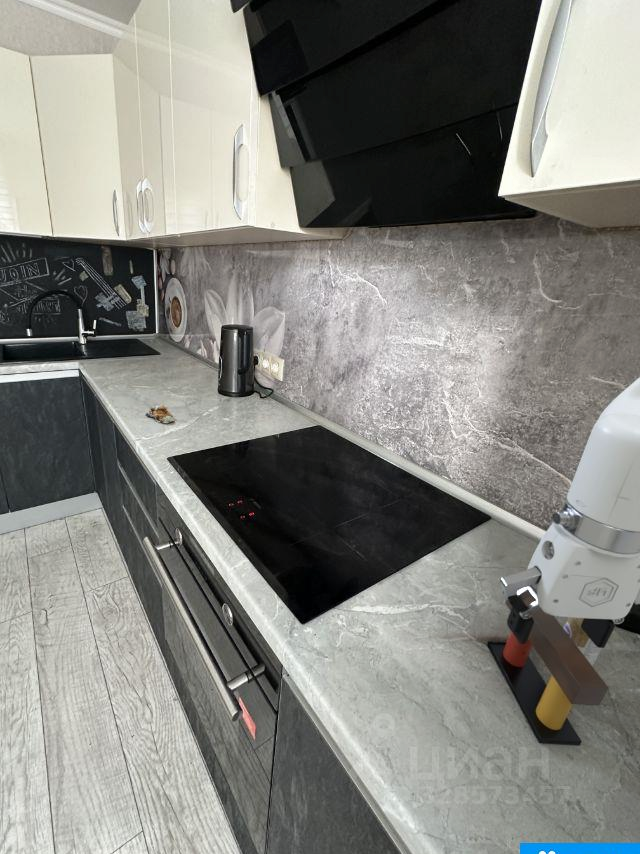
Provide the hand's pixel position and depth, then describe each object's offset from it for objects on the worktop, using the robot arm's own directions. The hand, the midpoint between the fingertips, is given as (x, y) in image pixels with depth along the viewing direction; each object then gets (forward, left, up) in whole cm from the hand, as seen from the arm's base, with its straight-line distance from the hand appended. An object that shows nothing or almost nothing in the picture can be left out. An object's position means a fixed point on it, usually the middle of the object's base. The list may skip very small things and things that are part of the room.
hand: (553, 635), depth 49 cm
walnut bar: (0, 0, -2) cm, 2 cm away
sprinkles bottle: (-7, -3, -10) cm, 13 cm away
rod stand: (0, 0, -10) cm, 10 cm away
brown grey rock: (+76, -88, -10) cm, 117 cm away
